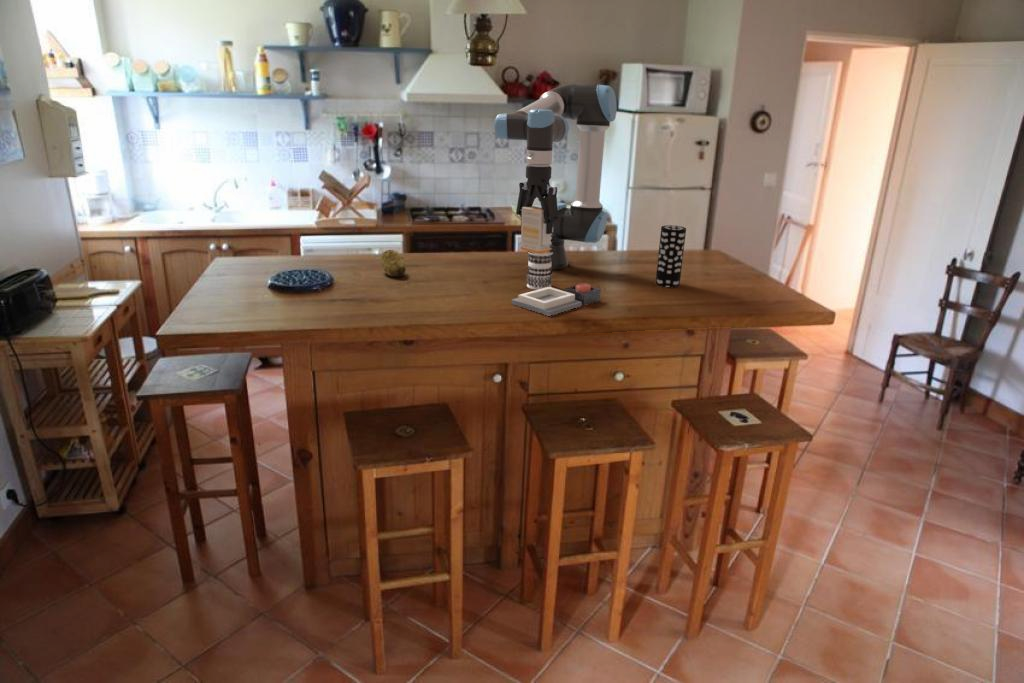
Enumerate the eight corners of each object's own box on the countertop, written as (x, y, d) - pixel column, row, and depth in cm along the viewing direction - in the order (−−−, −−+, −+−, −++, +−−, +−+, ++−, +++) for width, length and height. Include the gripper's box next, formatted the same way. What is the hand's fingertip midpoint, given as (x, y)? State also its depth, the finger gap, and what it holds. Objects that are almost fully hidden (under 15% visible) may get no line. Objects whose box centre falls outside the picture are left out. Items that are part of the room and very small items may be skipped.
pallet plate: (511, 304, 211) (511, 293, 210) (544, 295, 221) (544, 284, 220) (548, 316, 200) (549, 305, 199) (581, 306, 210) (582, 296, 209)
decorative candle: (520, 286, 229) (522, 213, 220) (535, 281, 236) (538, 209, 227) (542, 292, 224) (545, 216, 215) (557, 286, 231) (561, 213, 222)
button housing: (564, 300, 216) (565, 288, 215) (580, 295, 221) (581, 283, 220) (583, 306, 211) (584, 293, 209) (599, 301, 216) (600, 289, 215)
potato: (381, 279, 233) (380, 256, 230) (381, 269, 245) (380, 248, 242) (406, 278, 235) (405, 256, 232) (404, 269, 247) (403, 247, 244)
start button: (571, 296, 216) (572, 285, 214) (581, 293, 219) (582, 282, 218) (583, 299, 212) (584, 288, 211) (593, 296, 216) (593, 285, 214)
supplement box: (550, 252, 205) (552, 208, 201) (539, 254, 202) (541, 210, 198) (530, 247, 211) (532, 205, 206) (519, 249, 208) (521, 206, 203)
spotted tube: (679, 288, 232) (686, 231, 225) (655, 286, 234) (661, 229, 226) (679, 282, 240) (685, 226, 233) (655, 280, 241) (661, 224, 234)
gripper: (505, 162, 202) (503, 237, 210) (556, 169, 188) (552, 249, 196) (523, 161, 207) (520, 234, 215) (574, 168, 193) (569, 246, 201)
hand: (535, 241), depth 206 cm, fingers closed on supplement box, 8 cm apart
